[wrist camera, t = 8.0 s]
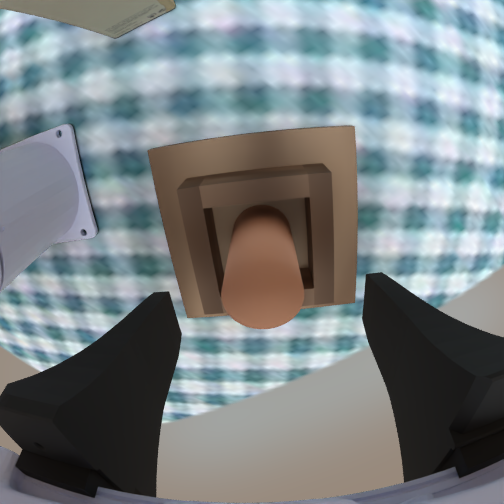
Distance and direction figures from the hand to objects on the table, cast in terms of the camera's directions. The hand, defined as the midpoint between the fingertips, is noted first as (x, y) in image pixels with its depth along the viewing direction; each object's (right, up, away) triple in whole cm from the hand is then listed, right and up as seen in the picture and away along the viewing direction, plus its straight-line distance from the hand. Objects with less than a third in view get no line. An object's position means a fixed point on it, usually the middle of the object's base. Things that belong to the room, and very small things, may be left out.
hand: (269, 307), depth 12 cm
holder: (0, +3, +9) cm, 10 cm away
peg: (0, +3, +8) cm, 9 cm away
